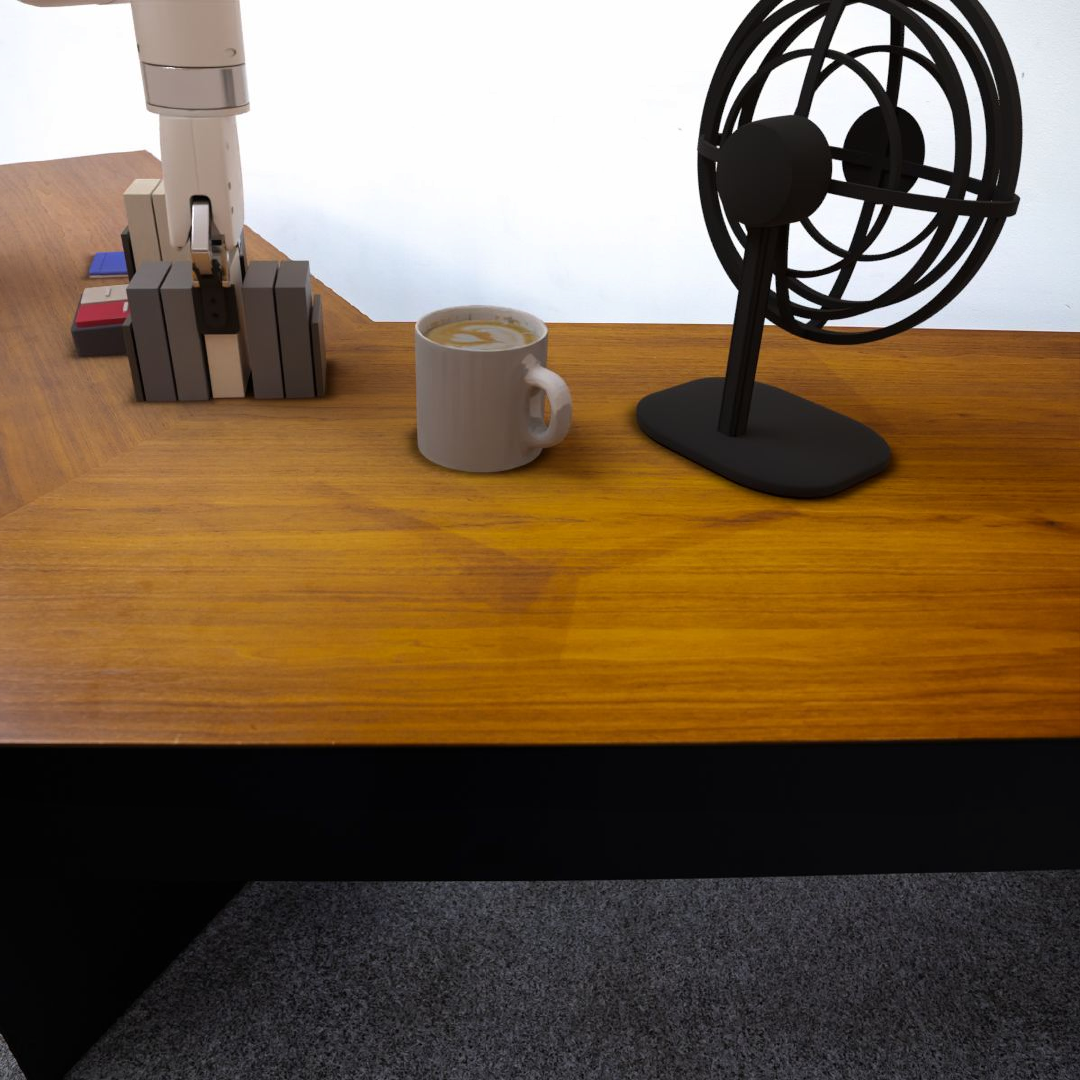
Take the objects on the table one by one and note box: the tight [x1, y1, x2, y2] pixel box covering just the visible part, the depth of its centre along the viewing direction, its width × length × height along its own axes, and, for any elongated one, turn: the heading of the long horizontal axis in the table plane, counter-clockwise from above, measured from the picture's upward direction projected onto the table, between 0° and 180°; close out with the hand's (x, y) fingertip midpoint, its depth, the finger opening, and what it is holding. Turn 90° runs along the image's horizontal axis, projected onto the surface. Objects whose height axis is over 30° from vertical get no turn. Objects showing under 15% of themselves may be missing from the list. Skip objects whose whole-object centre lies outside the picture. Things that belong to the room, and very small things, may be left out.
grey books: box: [122, 260, 327, 403], centre depth 84 cm, size 15×8×10 cm, turn 99°
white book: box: [204, 247, 252, 399], centre depth 84 cm, size 3×7×11 cm, turn 9°
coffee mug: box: [414, 304, 573, 473], centre depth 75 cm, size 13×10×10 cm
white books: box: [120, 178, 249, 284], centre depth 105 cm, size 11×7×11 cm, turn 99°
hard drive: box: [88, 251, 128, 279], centre depth 113 cm, size 2×8×12 cm
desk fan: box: [635, 0, 1024, 498], centre depth 72 cm, size 27×18×35 cm, turn 40°
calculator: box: [70, 283, 130, 358], centre depth 95 cm, size 11×4×15 cm
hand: (224, 315), depth 83 cm, fingers closed on white book, 7 cm apart
